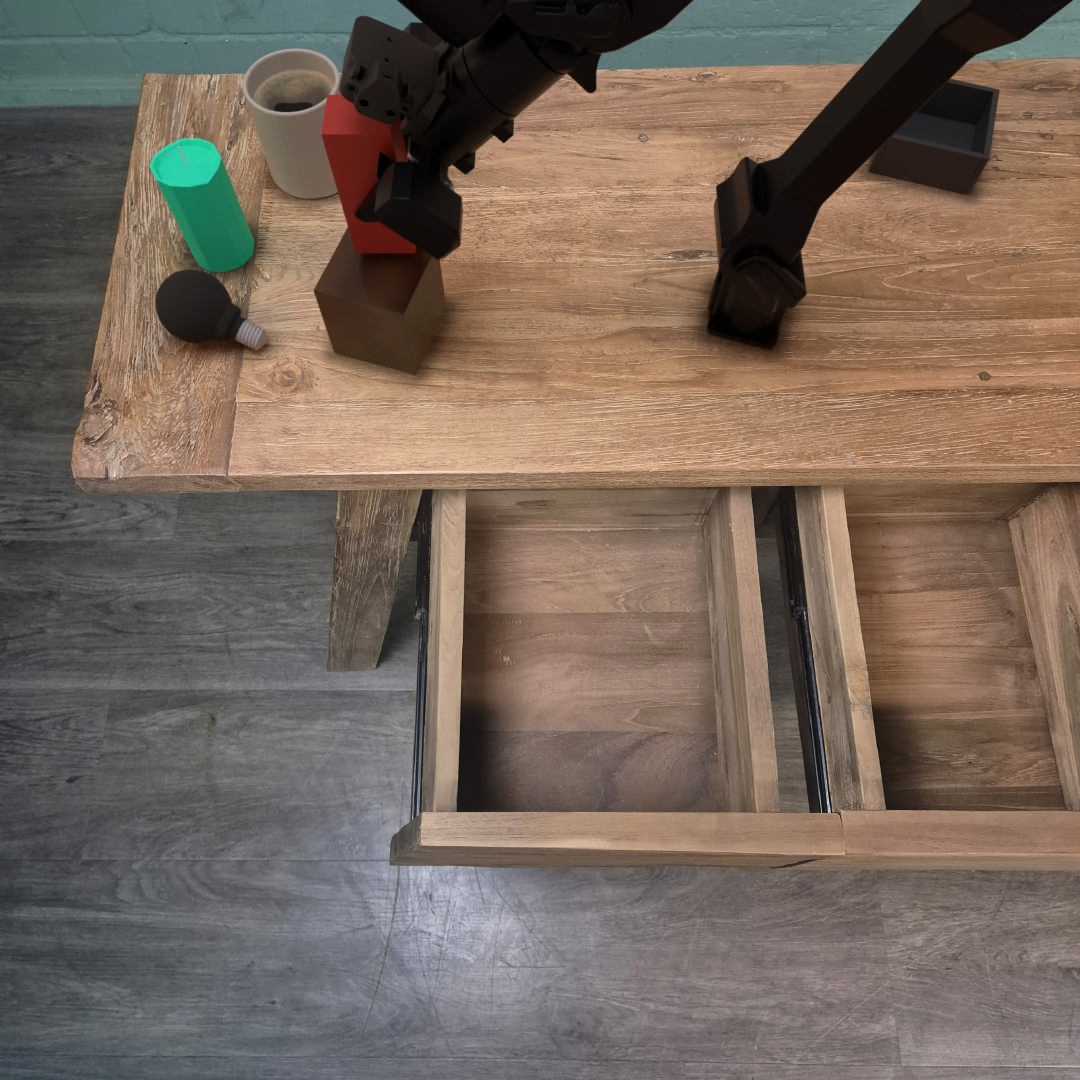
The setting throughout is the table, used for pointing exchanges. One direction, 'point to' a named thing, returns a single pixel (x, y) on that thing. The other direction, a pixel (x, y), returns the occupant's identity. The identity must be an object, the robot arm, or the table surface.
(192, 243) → the candle
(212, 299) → the light bulb
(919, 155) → the dark gray open box
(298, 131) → the mug
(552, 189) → the table surface
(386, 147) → the red rectangular block
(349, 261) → the dark wooden block
